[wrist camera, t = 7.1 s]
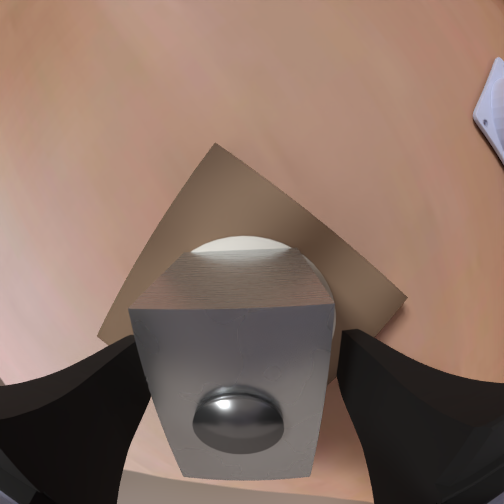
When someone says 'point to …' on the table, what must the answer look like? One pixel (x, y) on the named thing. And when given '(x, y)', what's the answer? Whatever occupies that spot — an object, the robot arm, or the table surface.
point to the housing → (237, 361)
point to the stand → (256, 246)
